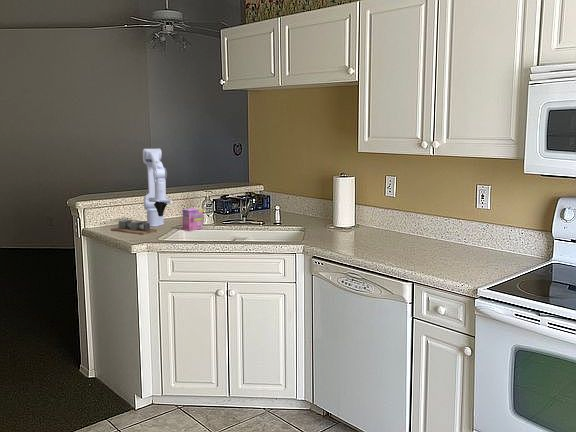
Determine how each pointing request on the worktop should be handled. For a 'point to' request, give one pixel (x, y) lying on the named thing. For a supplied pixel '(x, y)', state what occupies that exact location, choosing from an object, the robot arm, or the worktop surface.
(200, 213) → the box
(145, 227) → the shaft
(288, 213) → the worktop surface
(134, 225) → the bearing board
